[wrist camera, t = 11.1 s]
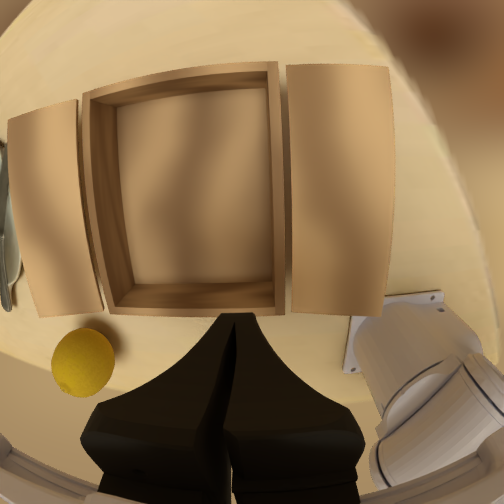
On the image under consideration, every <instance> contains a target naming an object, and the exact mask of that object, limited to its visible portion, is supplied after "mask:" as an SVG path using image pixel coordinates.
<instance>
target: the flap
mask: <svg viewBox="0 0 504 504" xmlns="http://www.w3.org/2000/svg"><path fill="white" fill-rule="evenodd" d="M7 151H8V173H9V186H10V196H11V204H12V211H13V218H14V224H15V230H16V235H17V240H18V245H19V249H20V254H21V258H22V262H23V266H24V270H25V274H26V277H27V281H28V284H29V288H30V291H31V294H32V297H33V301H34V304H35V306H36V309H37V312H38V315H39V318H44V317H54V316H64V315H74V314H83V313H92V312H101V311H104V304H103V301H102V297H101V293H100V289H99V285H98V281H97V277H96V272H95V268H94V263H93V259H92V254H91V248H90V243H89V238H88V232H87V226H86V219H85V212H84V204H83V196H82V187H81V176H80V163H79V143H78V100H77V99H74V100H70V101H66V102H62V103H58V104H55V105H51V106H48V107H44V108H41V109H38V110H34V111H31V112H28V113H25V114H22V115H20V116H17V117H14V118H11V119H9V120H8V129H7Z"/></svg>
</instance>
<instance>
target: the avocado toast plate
mask: <svg viewBox="0 0 504 504" xmlns="http://www.w3.org/2000/svg"><path fill="white" fill-rule="evenodd" d="M21 265H22V258H21V254H20V249H19V245H18V240H17V235H16V230H15V224H14V218H13V211H12V204H11V196H10V186H9V173H8V151H7V143H6V144H5V146H4V148H3V147H2V146H1V145H0V296H1V304H2V307H3V308H4V309H5V311H7V312H10V311H11V310H12V298H11V290H12V286H13V284H14V283H15V282H16V281H17V279H18V278H19V275H20V271H21Z"/></svg>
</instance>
